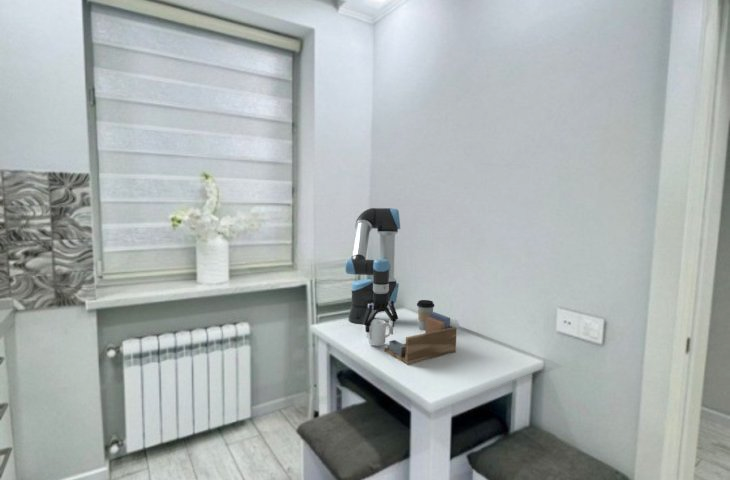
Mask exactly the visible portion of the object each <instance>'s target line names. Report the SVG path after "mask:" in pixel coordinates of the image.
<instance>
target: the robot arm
mask: <svg viewBox="0 0 730 480" xmlns="http://www.w3.org/2000/svg"><path fill="white" fill-rule="evenodd" d="M400 220H401V219H400V212H399V209H398V208H392V207H389V208H386V207H379V208H378V207H377V208H376V207H372V208H371V207H370V208H367V209H366V210H364V211H363V212H361V213H360V214H359V216H357V218H356V220H355V224H354V226H355V227H354V228H355V233H354V241H353V245H352V252H351V257H350V258H348V259H346V260H345V263H344V264H345V267H344V269H345V273H346V274H347V275H354V276H355V275H359V276H360V275H364V276H372V278H373V280H372V279H369V278H367V279H366V278H365V279H359V280H355V281H353V282H352V284H351V308H350V311H349V314H348V319H347V320H348V321H349V322H350V323H353V324H359V325H364V326H365V327H364V328H365V333H366V338H367V340H368V339H371V325H370V324H371V322H372V321H373V320H374V319H375V318H376V315H377V314H379V313H381V312H385V314H386V315H387V317H388V318H389V319H388V323H389V324H390V326H391V332H390V336H391V335H392V336H393V335H394V328H395V322H396V321H397V320H398V319H399V316H398V314H397V311H396V307H395V303H396V302H397V298H398V291H399V285H400V284H399V283H397V279H396V277H395V252H396V251H395V247H396V244H395V243H396V235H397V234H398V232H399V230H401V222H400ZM373 229H377V233H378V234H379V251H378V252H379V253H378V254H379V255H378V256H379V257H378V258H376V259H367V255H368V248H369V240H370V233H371V231H372V230H373ZM388 306H389V308H388Z"/></svg>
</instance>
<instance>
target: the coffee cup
mask: <svg viewBox="0 0 730 480" xmlns="http://www.w3.org/2000/svg"><path fill="white" fill-rule="evenodd" d="M416 306H417V315H418V324H419V325H418V327H419V330H421V331H425V327H426V318H428V317H430V313H432V312H434V307H435V303H434V301H432V300H429V299H420V300H418V302H417V303H416Z"/></svg>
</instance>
